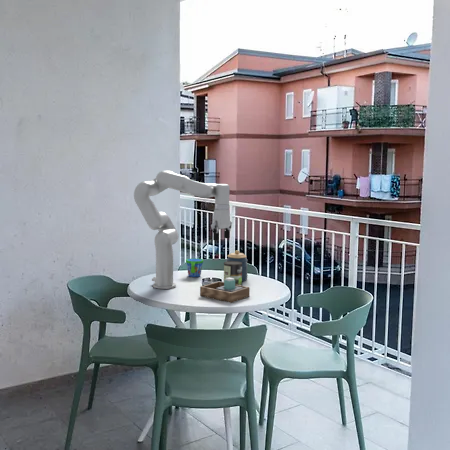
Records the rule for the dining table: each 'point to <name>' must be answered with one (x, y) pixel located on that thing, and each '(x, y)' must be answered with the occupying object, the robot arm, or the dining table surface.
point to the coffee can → (233, 271)
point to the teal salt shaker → (229, 283)
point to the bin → (223, 292)
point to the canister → (240, 258)
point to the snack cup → (194, 267)
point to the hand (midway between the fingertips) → (221, 239)
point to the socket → (228, 289)
